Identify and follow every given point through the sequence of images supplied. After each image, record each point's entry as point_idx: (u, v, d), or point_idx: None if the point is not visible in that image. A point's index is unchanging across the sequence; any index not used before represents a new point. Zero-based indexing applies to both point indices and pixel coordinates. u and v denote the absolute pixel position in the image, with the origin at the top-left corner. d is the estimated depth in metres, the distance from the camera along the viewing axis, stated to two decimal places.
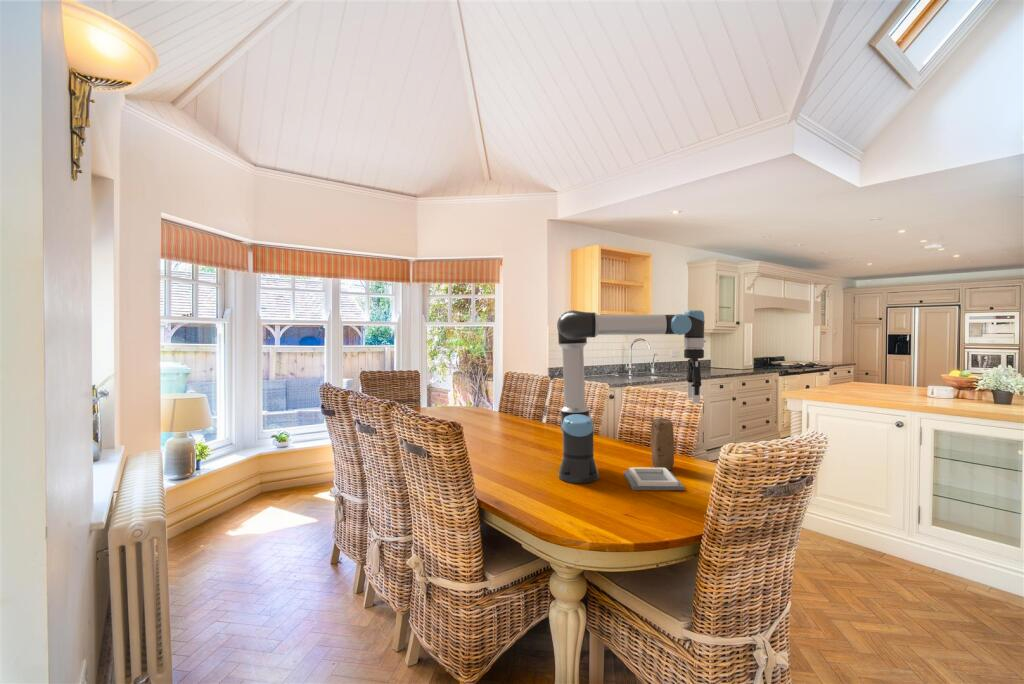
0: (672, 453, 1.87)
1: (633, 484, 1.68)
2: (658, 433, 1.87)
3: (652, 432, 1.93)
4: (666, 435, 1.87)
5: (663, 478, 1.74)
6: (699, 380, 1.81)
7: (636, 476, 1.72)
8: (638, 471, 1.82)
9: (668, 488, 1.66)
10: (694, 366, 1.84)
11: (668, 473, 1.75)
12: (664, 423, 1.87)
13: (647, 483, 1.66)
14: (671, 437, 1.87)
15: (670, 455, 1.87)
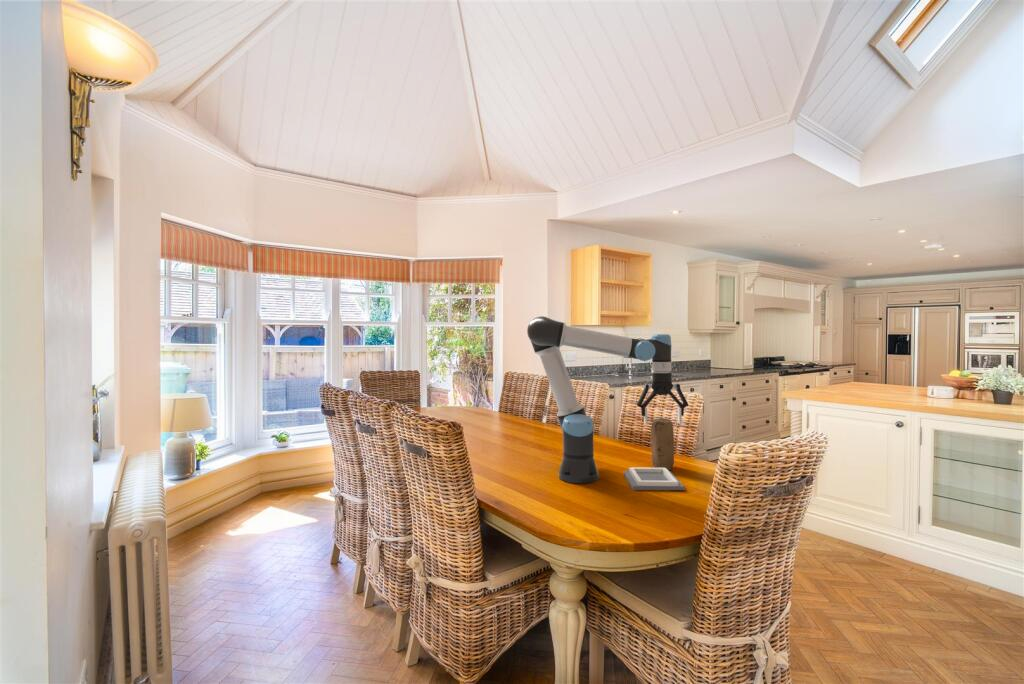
0: (672, 453, 1.87)
1: (633, 484, 1.68)
2: (658, 433, 1.87)
3: (652, 432, 1.93)
4: (666, 435, 1.87)
5: (663, 478, 1.74)
6: (639, 401, 1.91)
7: (636, 476, 1.72)
8: (638, 471, 1.82)
9: (668, 488, 1.66)
10: (644, 388, 1.92)
11: (668, 473, 1.75)
12: (664, 423, 1.87)
13: (647, 483, 1.66)
14: (671, 437, 1.87)
15: (670, 455, 1.87)
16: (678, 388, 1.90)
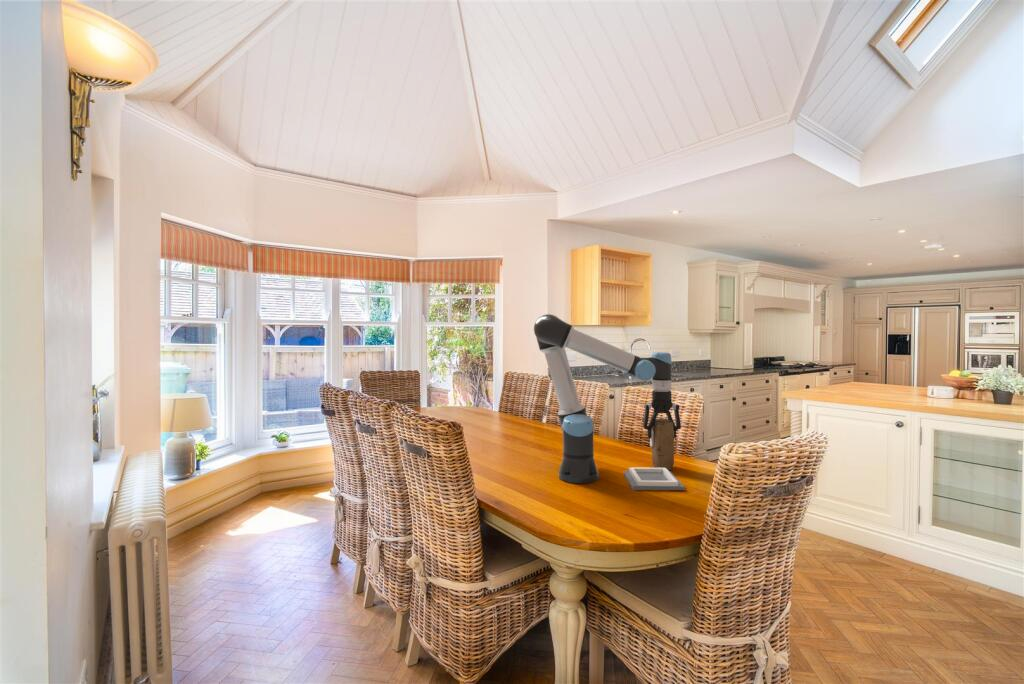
0: (672, 453, 1.87)
1: (633, 484, 1.68)
2: (658, 433, 1.87)
3: None
4: (666, 435, 1.87)
5: (663, 478, 1.74)
6: (644, 423, 1.91)
7: (636, 476, 1.72)
8: (638, 471, 1.82)
9: (668, 488, 1.66)
10: (645, 409, 1.93)
11: (668, 473, 1.75)
12: (664, 423, 1.87)
13: (647, 483, 1.66)
14: (671, 437, 1.87)
15: (670, 455, 1.87)
16: (677, 409, 1.90)
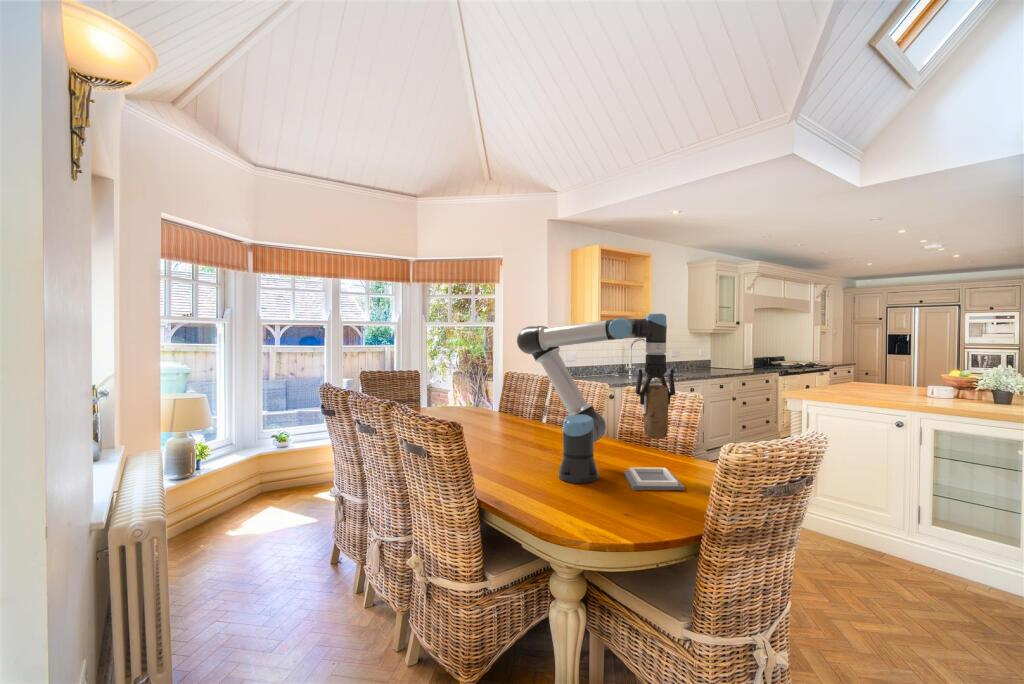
0: (666, 420, 1.76)
1: (633, 484, 1.68)
2: (652, 398, 1.76)
3: None
4: (660, 401, 1.75)
5: (663, 478, 1.74)
6: (637, 389, 1.80)
7: (636, 476, 1.72)
8: (638, 471, 1.82)
9: (668, 488, 1.66)
10: (638, 374, 1.81)
11: (668, 473, 1.75)
12: (658, 388, 1.76)
13: (647, 483, 1.66)
14: (665, 403, 1.75)
15: (664, 422, 1.75)
16: (671, 374, 1.79)
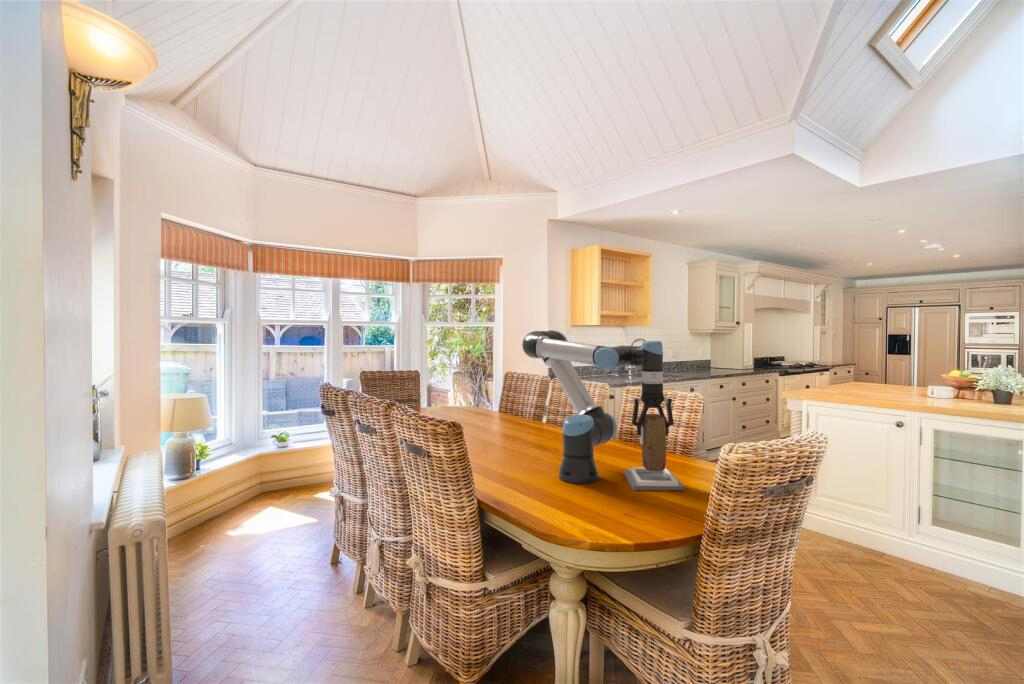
0: (664, 452, 1.69)
1: (633, 484, 1.68)
2: (648, 429, 1.69)
3: None
4: (657, 432, 1.69)
5: (663, 478, 1.74)
6: (633, 419, 1.74)
7: (636, 476, 1.72)
8: (638, 471, 1.82)
9: (668, 488, 1.66)
10: (634, 403, 1.75)
11: (668, 473, 1.75)
12: (655, 418, 1.69)
13: (647, 483, 1.66)
14: (663, 434, 1.69)
15: (662, 454, 1.69)
16: (669, 403, 1.72)
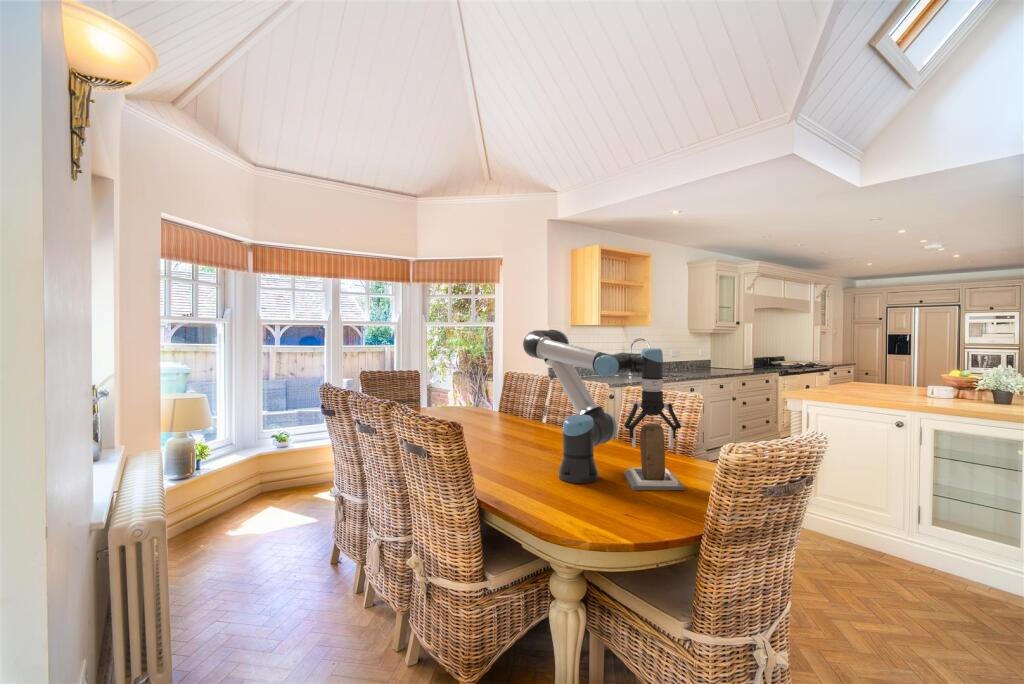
0: (663, 462, 1.69)
1: (633, 484, 1.68)
2: (647, 440, 1.69)
3: (641, 439, 1.75)
4: (656, 442, 1.69)
5: None
6: (626, 422, 1.74)
7: (636, 476, 1.72)
8: (638, 471, 1.82)
9: (668, 488, 1.66)
10: None
11: (668, 473, 1.75)
12: (654, 429, 1.70)
13: (647, 483, 1.66)
14: (662, 444, 1.69)
15: (661, 464, 1.69)
16: (670, 408, 1.72)
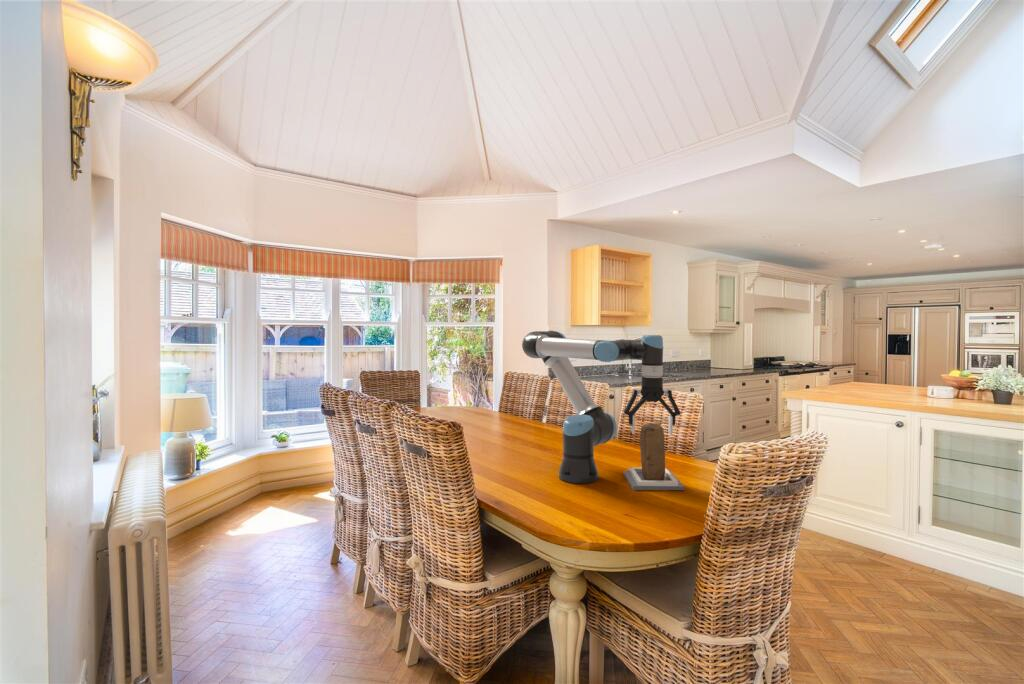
0: (663, 462, 1.69)
1: (633, 484, 1.68)
2: (647, 440, 1.69)
3: (641, 439, 1.75)
4: (656, 442, 1.69)
5: None
6: (626, 408, 1.74)
7: (636, 476, 1.72)
8: (638, 471, 1.82)
9: (668, 488, 1.66)
10: (632, 394, 1.75)
11: (668, 473, 1.75)
12: (654, 429, 1.70)
13: (647, 483, 1.66)
14: (662, 444, 1.69)
15: (661, 465, 1.69)
16: (669, 395, 1.72)
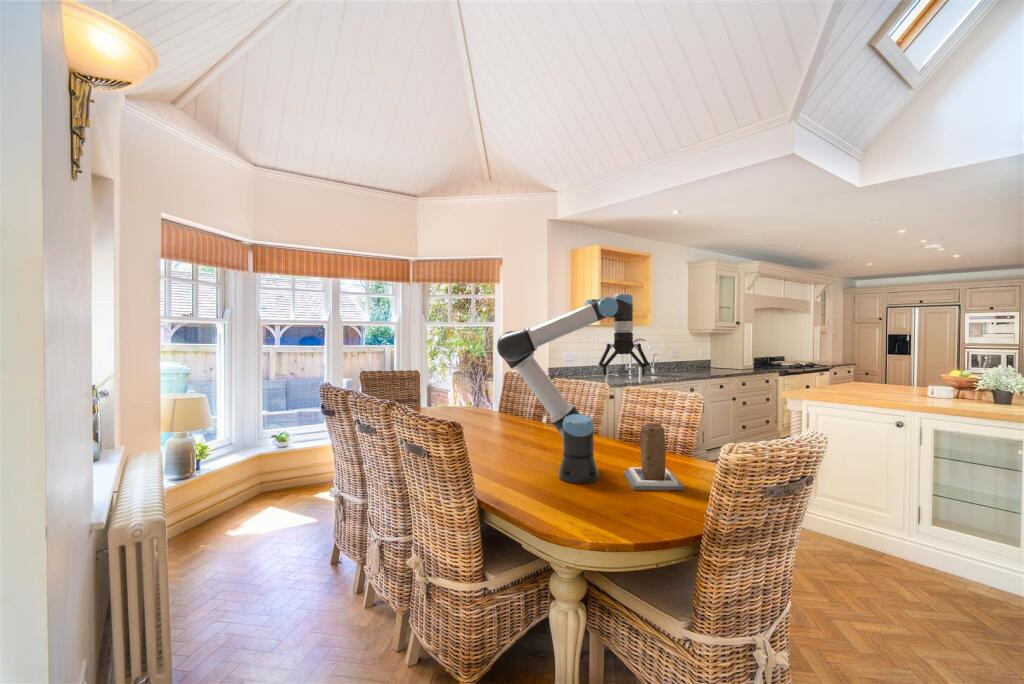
0: (663, 462, 1.69)
1: (633, 484, 1.68)
2: (648, 440, 1.69)
3: (642, 439, 1.75)
4: (657, 442, 1.69)
5: None
6: (600, 361, 1.94)
7: (636, 476, 1.72)
8: (638, 471, 1.82)
9: (668, 488, 1.66)
10: (606, 348, 1.95)
11: (668, 473, 1.75)
12: (654, 429, 1.70)
13: (647, 483, 1.66)
14: (662, 444, 1.69)
15: (661, 465, 1.69)
16: (639, 347, 1.92)
